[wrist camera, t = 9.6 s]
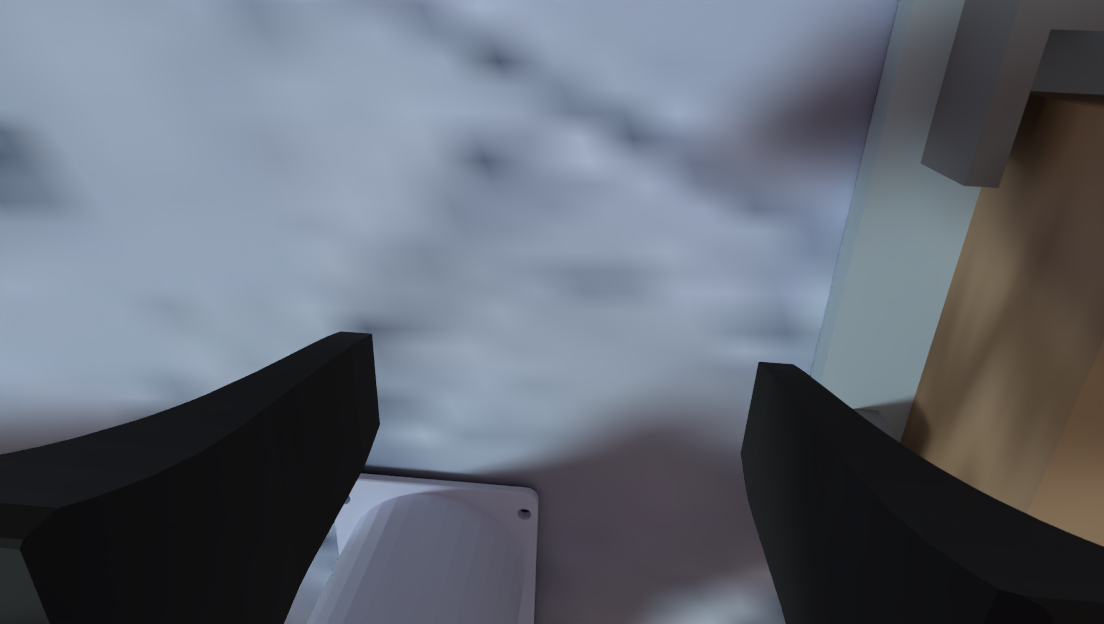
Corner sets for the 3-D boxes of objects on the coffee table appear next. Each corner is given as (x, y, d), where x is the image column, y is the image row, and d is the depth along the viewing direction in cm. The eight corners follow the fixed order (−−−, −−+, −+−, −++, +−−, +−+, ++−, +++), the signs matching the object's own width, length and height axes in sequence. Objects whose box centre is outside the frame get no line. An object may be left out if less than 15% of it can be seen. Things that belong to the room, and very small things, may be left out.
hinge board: (1059, 528, 24) (1126, 607, 21) (779, 504, 25) (804, 578, 22) (1323, -27, 16) (1492, -35, 13) (909, -43, 17) (977, -53, 14)
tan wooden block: (1016, 472, 22) (1148, 625, 17) (893, 463, 22) (983, 610, 17) (1173, 98, 17) (1437, 142, 12) (1012, 90, 17) (1195, 130, 12)
